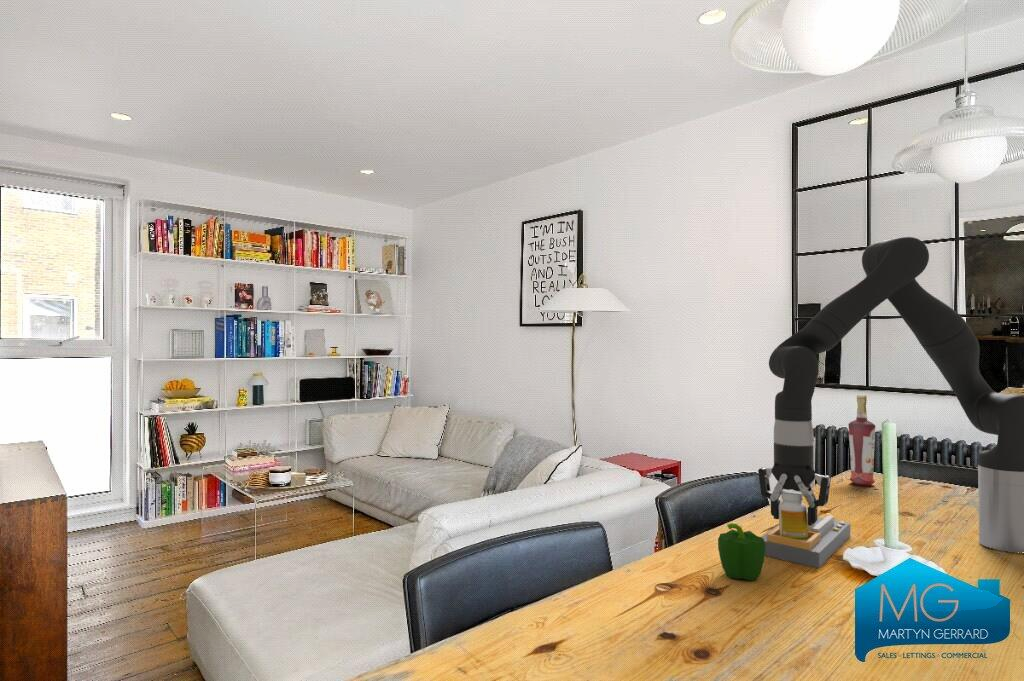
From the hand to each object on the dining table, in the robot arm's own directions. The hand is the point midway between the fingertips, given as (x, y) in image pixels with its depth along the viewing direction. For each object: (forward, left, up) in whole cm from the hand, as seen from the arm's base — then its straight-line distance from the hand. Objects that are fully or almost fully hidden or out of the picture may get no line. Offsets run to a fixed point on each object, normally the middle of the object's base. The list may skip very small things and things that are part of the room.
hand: (793, 521), depth 124 cm
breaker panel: (0, -8, -7) cm, 11 cm away
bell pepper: (+4, +19, -7) cm, 20 cm away
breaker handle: (0, -6, -4) cm, 7 cm away
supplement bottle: (0, 0, -4) cm, 4 cm away
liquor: (+3, -80, -7) cm, 81 cm away
